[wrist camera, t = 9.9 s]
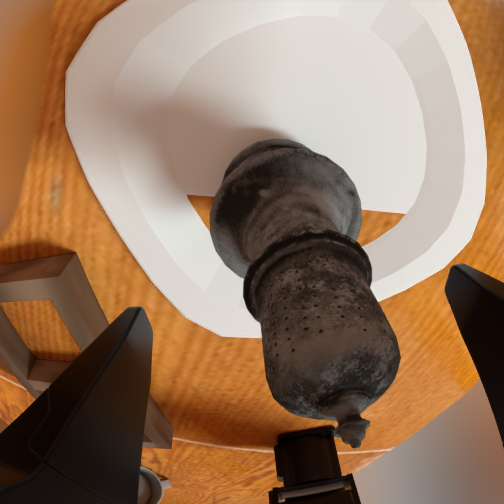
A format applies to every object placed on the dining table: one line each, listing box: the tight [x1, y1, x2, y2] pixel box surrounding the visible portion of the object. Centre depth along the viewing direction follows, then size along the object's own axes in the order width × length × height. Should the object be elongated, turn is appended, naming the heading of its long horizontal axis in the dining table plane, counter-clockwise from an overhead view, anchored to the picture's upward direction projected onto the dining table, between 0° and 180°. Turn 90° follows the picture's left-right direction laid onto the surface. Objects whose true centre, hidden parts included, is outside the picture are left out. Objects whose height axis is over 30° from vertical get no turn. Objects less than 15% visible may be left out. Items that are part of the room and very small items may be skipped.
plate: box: [65, 0, 487, 338], centre depth 14 cm, size 22×22×2 cm
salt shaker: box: [210, 139, 401, 448], centre depth 9 cm, size 6×6×12 cm
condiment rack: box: [0, 253, 173, 449], centre depth 21 cm, size 12×22×2 cm, turn 6°
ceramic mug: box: [138, 466, 171, 504], centre depth 35 cm, size 11×8×8 cm
